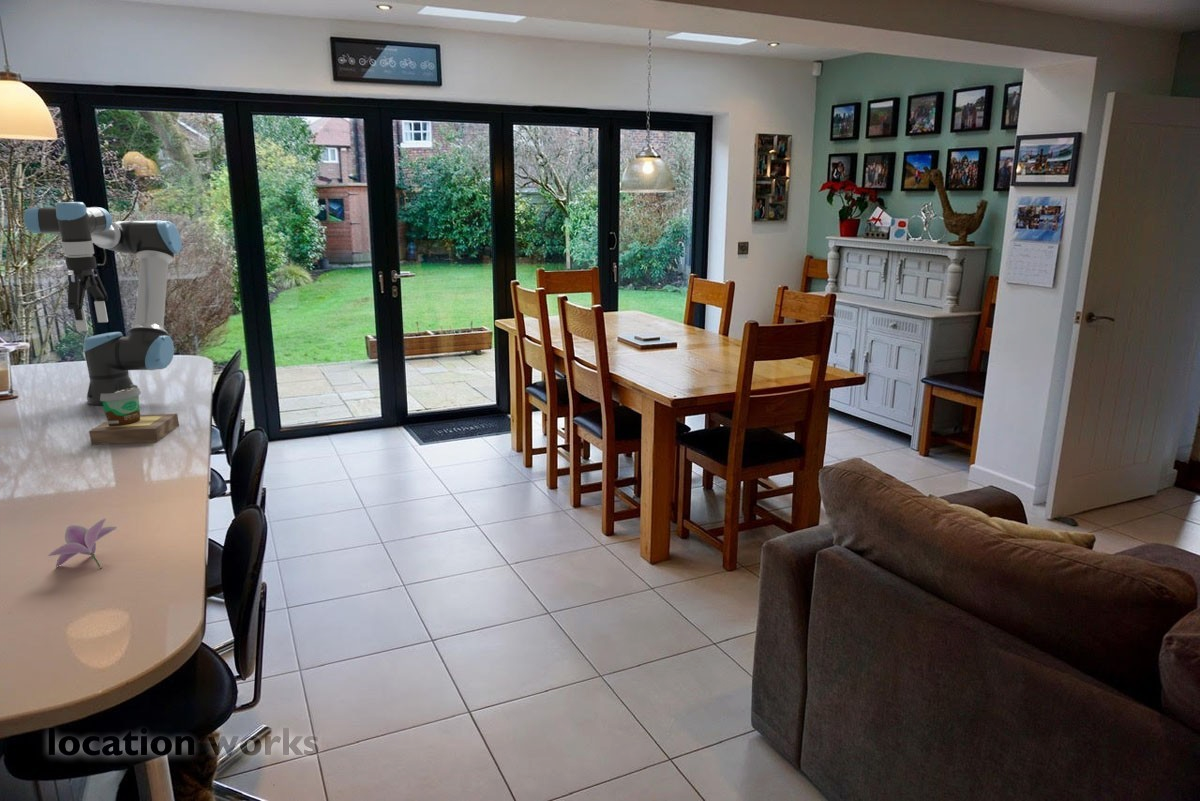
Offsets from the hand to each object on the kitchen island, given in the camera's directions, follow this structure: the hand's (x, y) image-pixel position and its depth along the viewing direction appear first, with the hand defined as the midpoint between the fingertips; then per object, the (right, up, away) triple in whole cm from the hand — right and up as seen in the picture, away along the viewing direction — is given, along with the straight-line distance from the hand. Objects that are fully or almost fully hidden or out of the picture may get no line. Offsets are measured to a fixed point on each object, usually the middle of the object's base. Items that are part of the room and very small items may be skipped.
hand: (93, 326), depth 239 cm
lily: (+54, -55, -86) cm, 115 cm away
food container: (+15, -29, -6) cm, 33 cm away
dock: (+16, -33, -5) cm, 37 cm away
